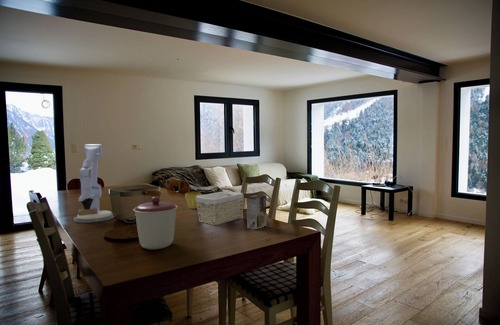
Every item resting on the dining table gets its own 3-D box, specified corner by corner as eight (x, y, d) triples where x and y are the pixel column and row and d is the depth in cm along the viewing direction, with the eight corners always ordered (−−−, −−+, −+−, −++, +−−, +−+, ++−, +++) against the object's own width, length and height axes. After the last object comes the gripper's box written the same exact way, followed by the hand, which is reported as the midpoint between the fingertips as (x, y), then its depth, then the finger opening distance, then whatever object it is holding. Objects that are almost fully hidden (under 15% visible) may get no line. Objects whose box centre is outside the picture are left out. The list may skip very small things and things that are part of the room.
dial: (109, 211, 205) (109, 204, 204) (113, 217, 189) (113, 209, 189) (76, 215, 195) (76, 208, 195) (78, 221, 180) (78, 213, 180)
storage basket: (214, 226, 171) (214, 198, 171) (194, 222, 182) (194, 195, 181) (245, 218, 189) (245, 193, 189) (225, 214, 200) (225, 190, 199)
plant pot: (186, 206, 226) (185, 192, 225) (201, 206, 227) (201, 192, 226) (184, 209, 216) (184, 194, 215) (200, 209, 217) (200, 194, 216)
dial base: (72, 217, 196) (72, 214, 196) (112, 212, 207) (112, 210, 207) (74, 225, 177) (74, 222, 177) (118, 219, 189) (118, 217, 188)
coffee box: (256, 224, 175) (256, 194, 174) (266, 226, 171) (266, 195, 170) (246, 228, 167) (246, 196, 166) (257, 230, 164) (256, 197, 163)
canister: (136, 255, 128) (134, 201, 127) (132, 242, 145) (131, 195, 144) (182, 249, 135) (181, 198, 134) (174, 237, 152) (173, 192, 151)
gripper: (86, 186, 201) (87, 208, 202) (72, 190, 187) (73, 214, 188) (97, 186, 201) (98, 208, 202) (85, 190, 186) (86, 214, 187)
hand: (87, 211), depth 195 cm, fingers closed
